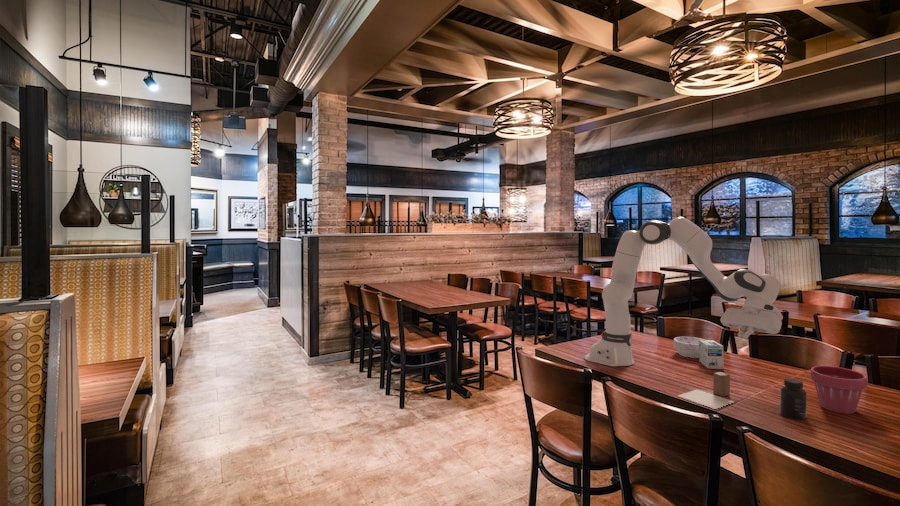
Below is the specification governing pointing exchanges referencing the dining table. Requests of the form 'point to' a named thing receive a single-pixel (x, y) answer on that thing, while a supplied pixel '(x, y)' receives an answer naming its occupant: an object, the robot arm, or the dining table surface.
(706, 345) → the light bulb box
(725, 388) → the wooden block
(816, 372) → the plant pot
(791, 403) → the supplement bottle
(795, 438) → the dining table surface
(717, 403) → the plate
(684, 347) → the paper bowls
